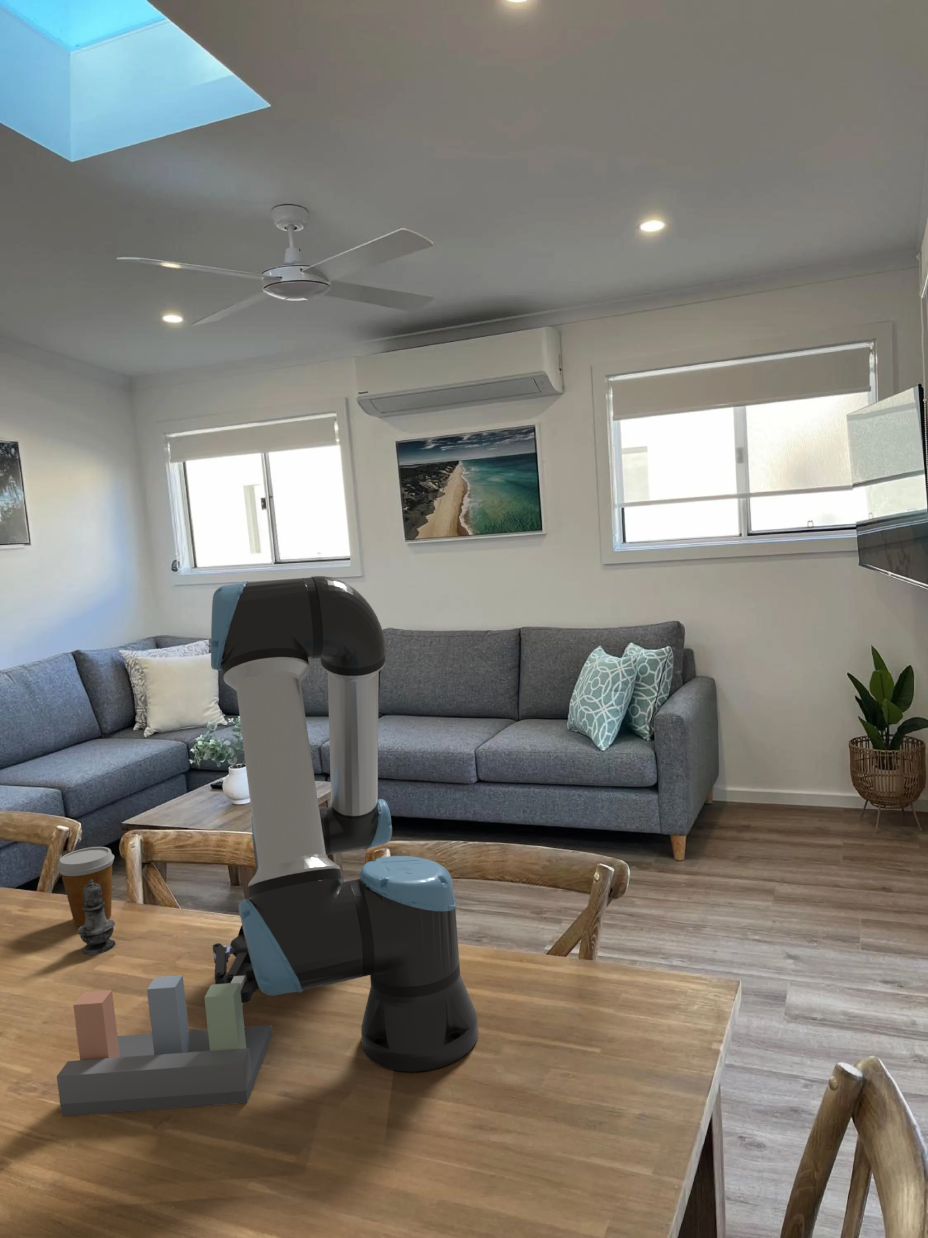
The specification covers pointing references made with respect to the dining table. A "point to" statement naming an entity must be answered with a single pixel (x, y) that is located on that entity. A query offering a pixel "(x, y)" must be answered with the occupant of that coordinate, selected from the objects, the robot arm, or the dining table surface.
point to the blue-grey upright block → (168, 1015)
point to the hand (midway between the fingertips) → (227, 1012)
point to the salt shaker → (95, 922)
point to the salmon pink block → (96, 1025)
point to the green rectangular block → (225, 1017)
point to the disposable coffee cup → (86, 878)
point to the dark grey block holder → (163, 1076)
